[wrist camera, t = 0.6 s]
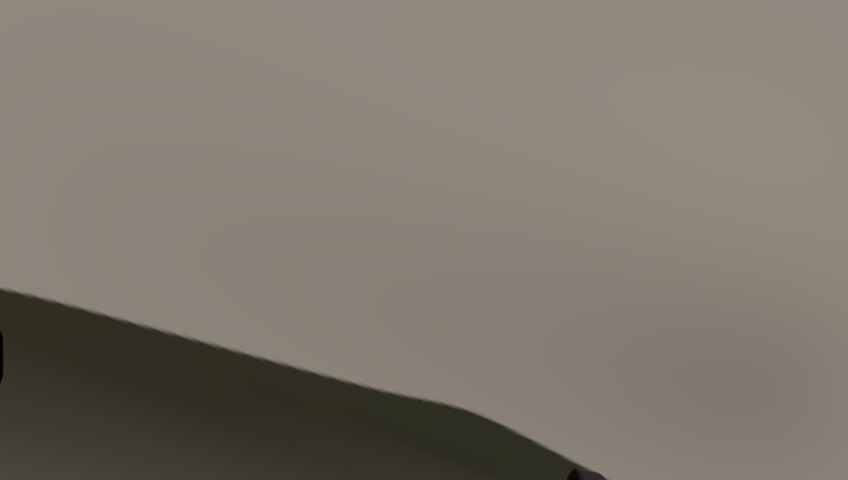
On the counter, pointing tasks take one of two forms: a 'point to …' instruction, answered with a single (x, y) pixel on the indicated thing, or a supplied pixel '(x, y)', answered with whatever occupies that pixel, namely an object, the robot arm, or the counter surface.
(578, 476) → the robot arm
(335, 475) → the counter surface
